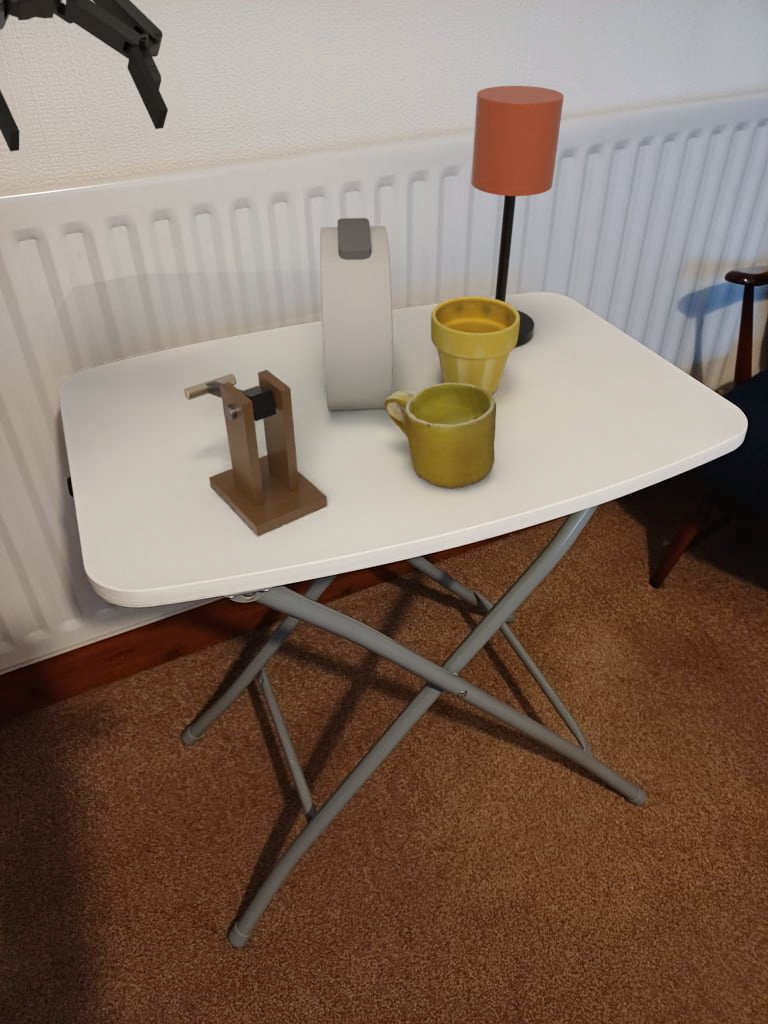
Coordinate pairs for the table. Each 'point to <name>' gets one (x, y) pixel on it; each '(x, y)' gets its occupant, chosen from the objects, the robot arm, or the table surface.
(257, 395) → the switch lever
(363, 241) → the alarm clock
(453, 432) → the mug
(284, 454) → the wooden lever stand
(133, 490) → the table surface
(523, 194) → the lamp
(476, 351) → the flower pot
